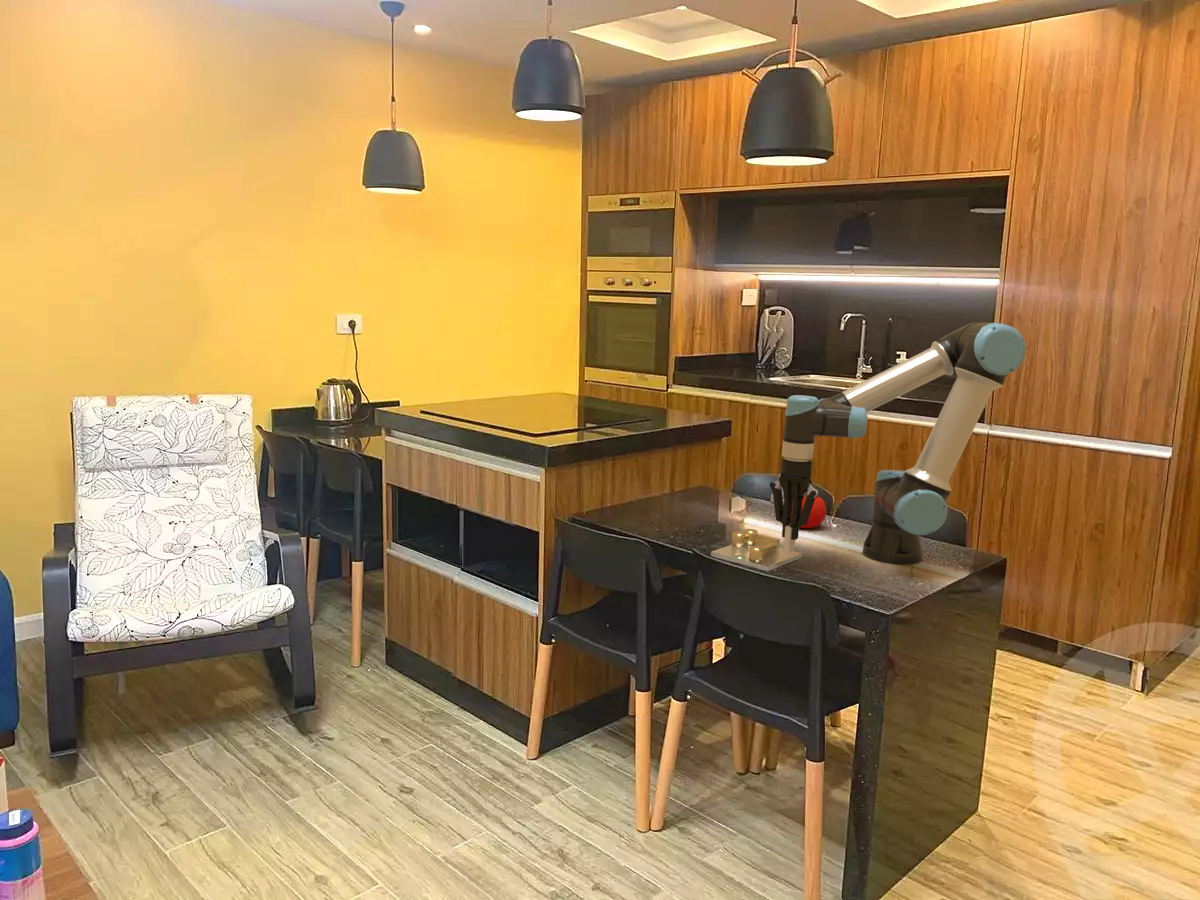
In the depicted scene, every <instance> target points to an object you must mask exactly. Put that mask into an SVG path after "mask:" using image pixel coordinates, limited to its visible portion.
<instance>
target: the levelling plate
mask: <svg viewBox="0 0 1200 900" xmlns="http://www.w3.org/2000/svg"><path fill="white" fill-rule="evenodd" d="M750 546H761V545H756V544H746V533H745V532H744V531H737V530H736V531H732V533H731V544H730V545H726V546H724V547H720V548H718V549H714V550H712V551H710V556H711V557H713V558H717V559H721V560H724V561H728V562H730V563H731V562H732V563H736V564H740V565H742V566H746V567H747V566H748V567H750V568H754V569H758V570H762V571H765V572H770V571H773V570H775V569H778V568H780V567H783V566H785V565H787V564H790V563H792V562H795V561H797V560H801V559H803V556H804V554H803V552H798V551H795V550H794V551H792V552H789V553H788V552H784V551H783V549H784V547H779V549H776V554H775V555H772V556H769V557H767V558H764V559H763V562H761V563H755V562H751V561H749V547H750ZM761 547H763V546H761Z"/></svg>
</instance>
